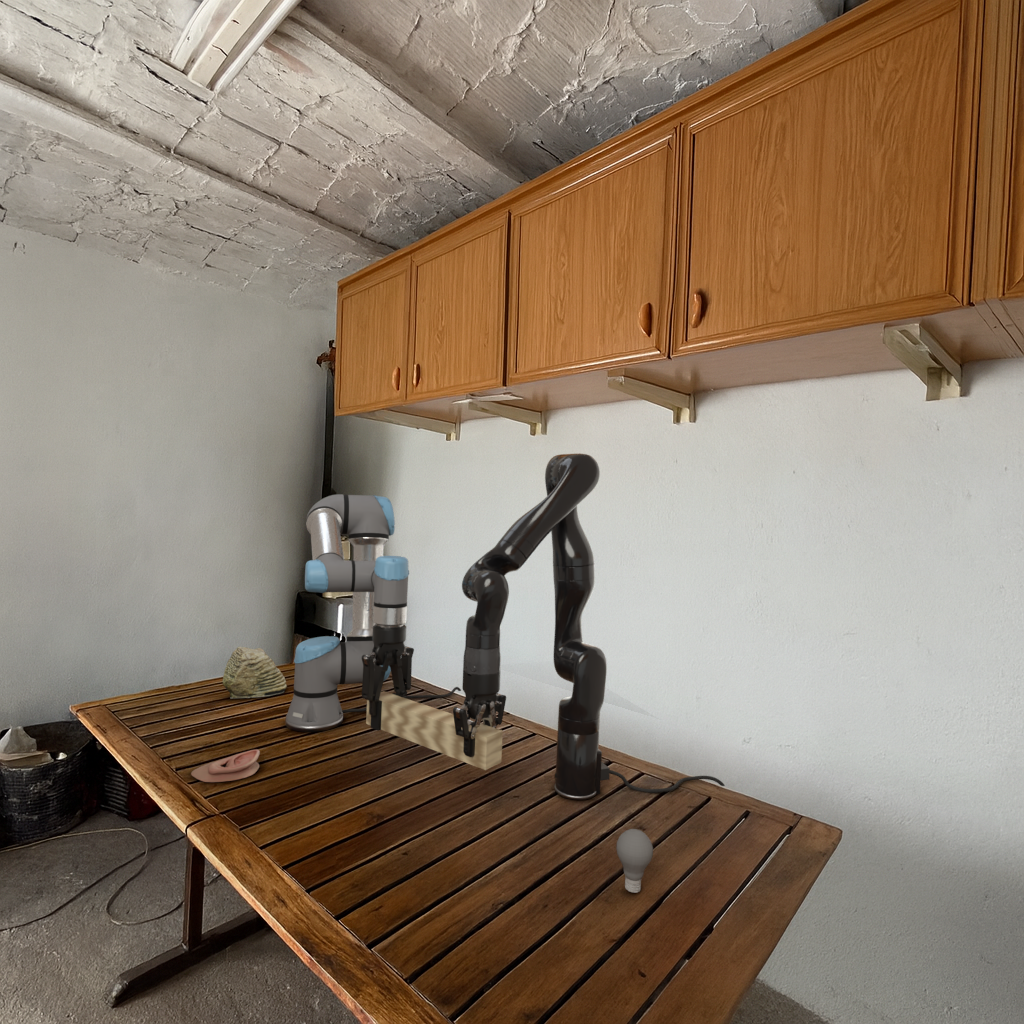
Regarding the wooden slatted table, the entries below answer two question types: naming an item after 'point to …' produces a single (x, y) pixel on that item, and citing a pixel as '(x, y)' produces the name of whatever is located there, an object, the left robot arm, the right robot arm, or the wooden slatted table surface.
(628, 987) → the wooden slatted table surface
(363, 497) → the left robot arm
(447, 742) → the birch plank
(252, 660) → the fossil
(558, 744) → the right robot arm
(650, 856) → the light bulb
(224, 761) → the anatomical model
